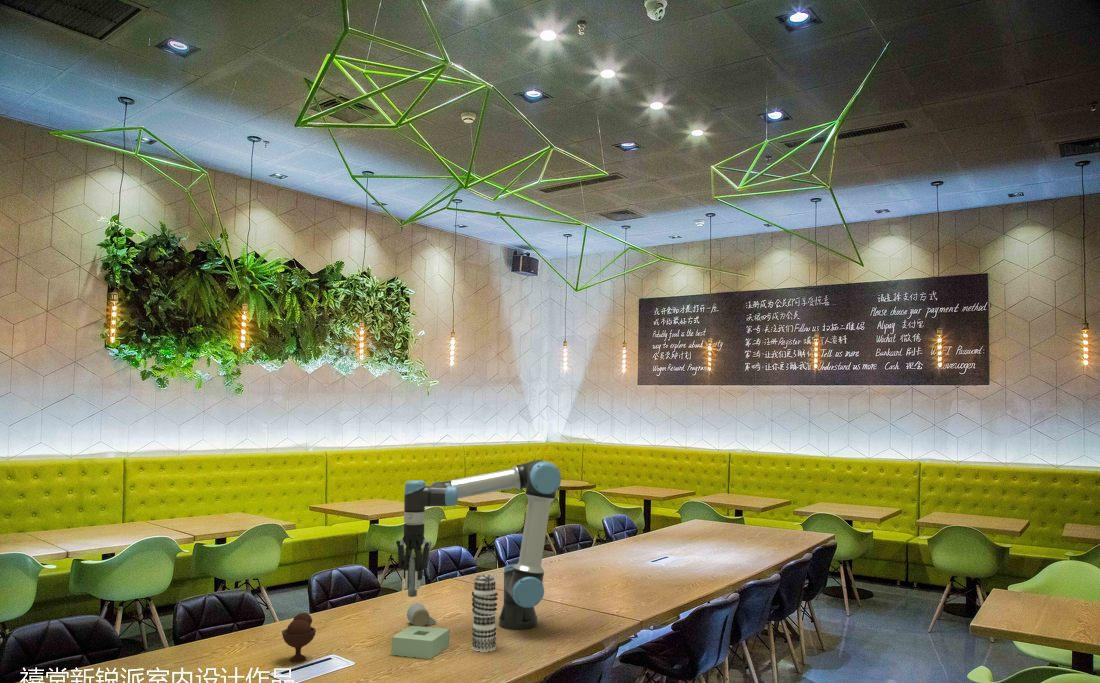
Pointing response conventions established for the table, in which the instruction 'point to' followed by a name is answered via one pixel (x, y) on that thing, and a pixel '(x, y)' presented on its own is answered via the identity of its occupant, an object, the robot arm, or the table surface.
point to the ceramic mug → (419, 615)
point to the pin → (412, 576)
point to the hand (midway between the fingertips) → (412, 588)
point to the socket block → (420, 642)
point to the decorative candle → (484, 613)
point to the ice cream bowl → (299, 635)
